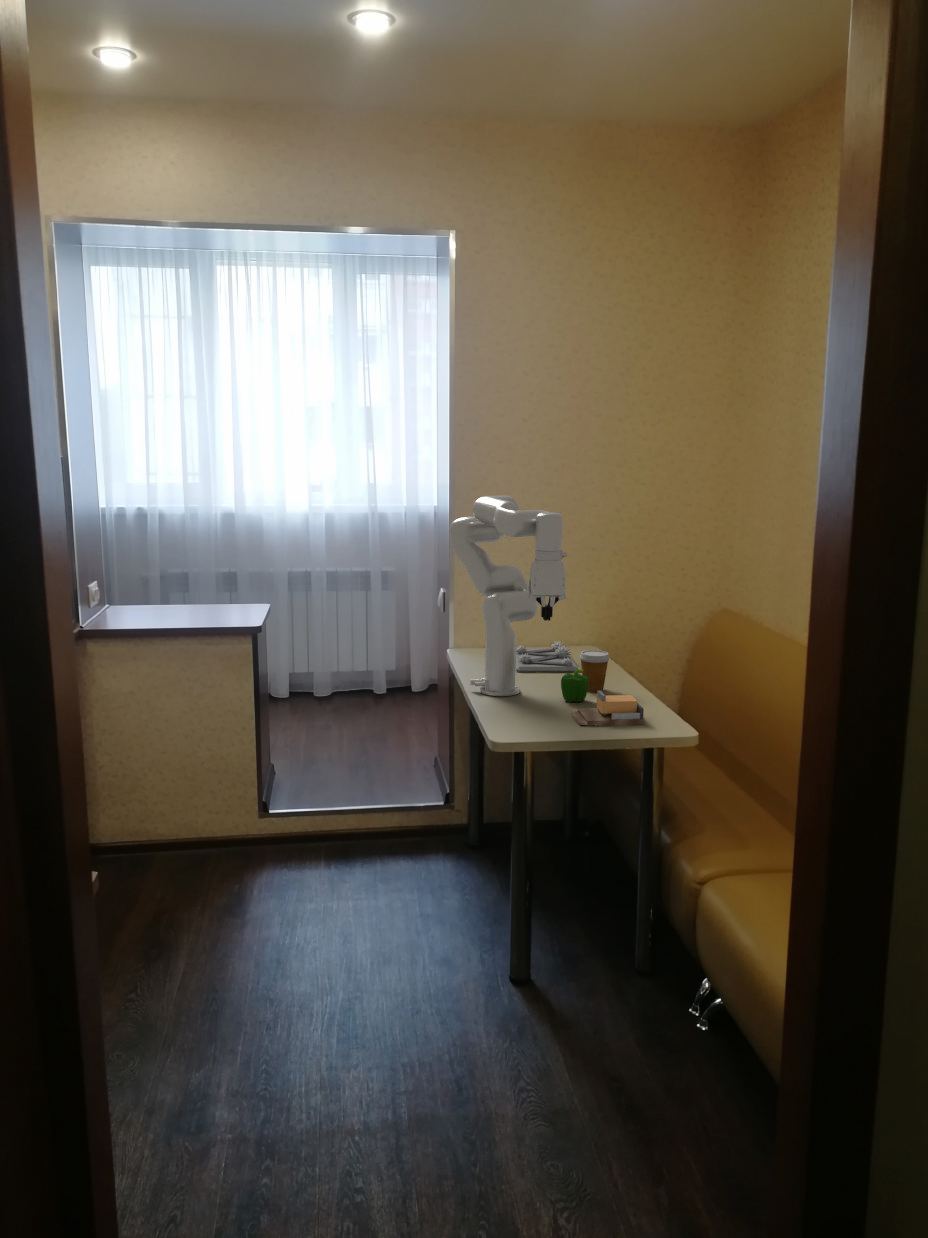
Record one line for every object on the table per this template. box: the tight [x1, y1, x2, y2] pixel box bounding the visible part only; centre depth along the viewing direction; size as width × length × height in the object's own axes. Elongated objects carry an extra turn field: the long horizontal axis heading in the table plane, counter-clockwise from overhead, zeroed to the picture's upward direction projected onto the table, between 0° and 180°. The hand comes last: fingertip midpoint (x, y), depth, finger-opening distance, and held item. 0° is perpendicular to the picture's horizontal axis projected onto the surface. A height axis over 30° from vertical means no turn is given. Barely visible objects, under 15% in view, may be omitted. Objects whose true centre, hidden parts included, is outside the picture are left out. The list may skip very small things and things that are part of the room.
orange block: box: [596, 691, 638, 716], centre depth 265 cm, size 10×6×6 cm, turn 96°
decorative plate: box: [515, 640, 579, 673], centre depth 333 cm, size 30×22×7 cm
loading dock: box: [570, 702, 645, 727], centre depth 265 cm, size 18×12×4 cm, turn 96°
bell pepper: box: [560, 668, 589, 703], centre depth 284 cm, size 8×8×10 cm
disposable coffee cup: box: [579, 649, 610, 693], centre depth 296 cm, size 10×10×12 cm
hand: (546, 619), depth 269 cm, fingers closed
